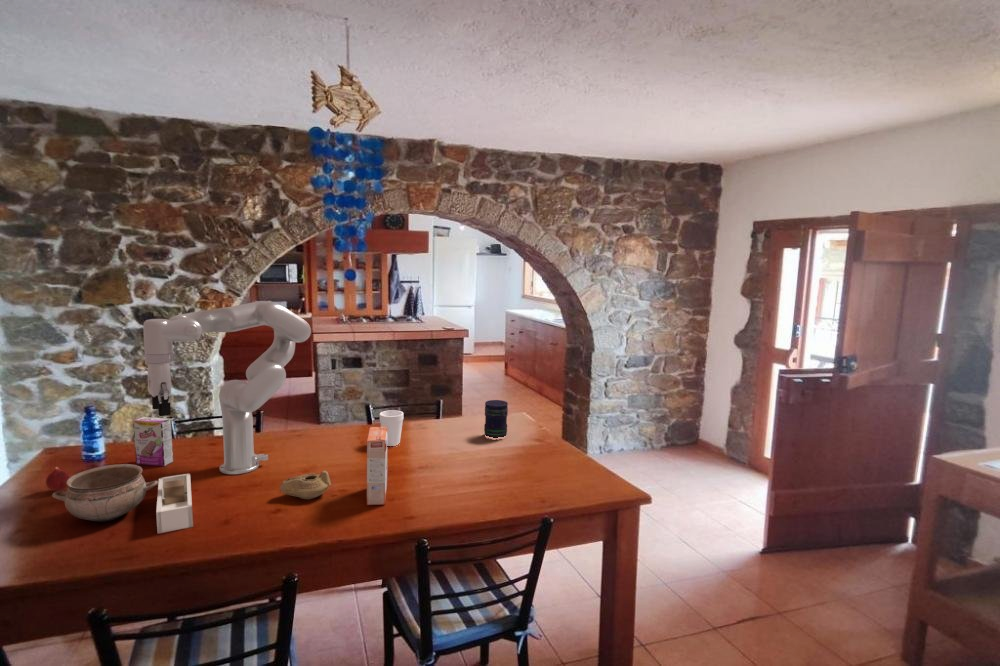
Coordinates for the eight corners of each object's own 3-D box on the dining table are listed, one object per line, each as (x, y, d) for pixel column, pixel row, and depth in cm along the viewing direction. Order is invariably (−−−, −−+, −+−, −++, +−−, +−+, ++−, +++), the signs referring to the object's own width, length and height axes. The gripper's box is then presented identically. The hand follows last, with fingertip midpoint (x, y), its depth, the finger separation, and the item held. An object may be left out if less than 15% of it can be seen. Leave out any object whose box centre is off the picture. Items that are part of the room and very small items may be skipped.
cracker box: (386, 505, 168) (386, 439, 165) (366, 506, 167) (365, 440, 164) (388, 486, 181) (388, 425, 179) (369, 487, 180) (369, 426, 178)
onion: (75, 489, 173) (73, 465, 172) (55, 496, 168) (53, 471, 166) (62, 486, 175) (60, 462, 174) (42, 493, 169) (40, 469, 168)
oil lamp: (279, 493, 174) (278, 469, 173) (327, 485, 181) (327, 462, 180) (282, 507, 164) (281, 482, 163) (333, 499, 171) (333, 474, 170)
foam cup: (400, 448, 217) (400, 417, 215) (377, 448, 217) (377, 416, 215) (405, 440, 226) (405, 410, 225) (382, 440, 226) (382, 409, 225)
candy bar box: (134, 465, 194) (131, 420, 192) (145, 459, 199) (142, 416, 196) (164, 467, 193) (161, 422, 190) (174, 461, 198) (171, 417, 195)
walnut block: (184, 494, 164) (183, 479, 164) (185, 501, 160) (184, 485, 159) (165, 498, 162) (164, 482, 161) (165, 504, 158) (164, 488, 157)
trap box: (191, 491, 174) (190, 473, 173) (193, 526, 152) (192, 506, 151) (160, 496, 170) (158, 478, 169) (157, 533, 147) (156, 512, 147)
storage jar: (481, 439, 231) (482, 405, 229) (486, 432, 240) (487, 399, 238) (505, 441, 229) (506, 406, 227) (508, 434, 239) (509, 400, 237)
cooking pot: (41, 539, 143) (37, 495, 141) (67, 508, 160) (63, 468, 159) (152, 524, 152) (150, 482, 151) (165, 496, 170) (163, 459, 168)
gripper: (140, 355, 174) (142, 407, 176) (150, 364, 161) (153, 420, 164) (167, 353, 179) (169, 404, 181) (179, 361, 166) (181, 416, 169)
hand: (161, 412), depth 172 cm, fingers open, 9 cm apart
